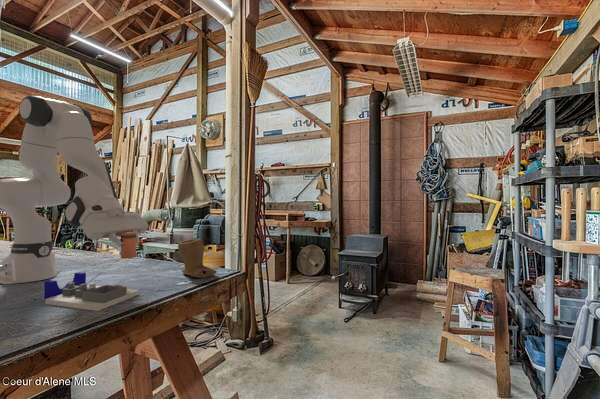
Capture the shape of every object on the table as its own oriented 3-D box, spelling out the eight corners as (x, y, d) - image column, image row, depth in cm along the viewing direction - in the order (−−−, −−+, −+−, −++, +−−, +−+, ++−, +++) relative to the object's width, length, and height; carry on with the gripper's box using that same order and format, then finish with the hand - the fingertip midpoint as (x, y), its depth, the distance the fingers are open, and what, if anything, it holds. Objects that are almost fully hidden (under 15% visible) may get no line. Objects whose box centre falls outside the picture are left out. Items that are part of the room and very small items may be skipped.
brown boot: (173, 274, 129) (173, 238, 128) (201, 269, 137) (201, 235, 136) (188, 281, 117) (188, 242, 117) (217, 276, 125) (217, 239, 125)
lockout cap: (117, 257, 100) (117, 233, 100) (129, 255, 104) (129, 231, 104) (127, 259, 98) (127, 233, 98) (139, 256, 103) (139, 232, 103)
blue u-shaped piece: (74, 288, 109) (74, 271, 108) (85, 289, 108) (85, 272, 108) (40, 300, 97) (40, 281, 97) (52, 301, 96) (52, 281, 96)
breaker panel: (45, 304, 93) (45, 287, 93) (91, 289, 107) (91, 275, 107) (97, 311, 87) (97, 293, 87) (138, 294, 102) (138, 279, 102)
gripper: (131, 217, 115) (150, 245, 112) (73, 221, 96) (94, 255, 93) (140, 205, 113) (160, 233, 110) (82, 207, 94) (104, 241, 91)
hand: (129, 243), depth 101 cm, fingers closed on lockout cap, 4 cm apart
